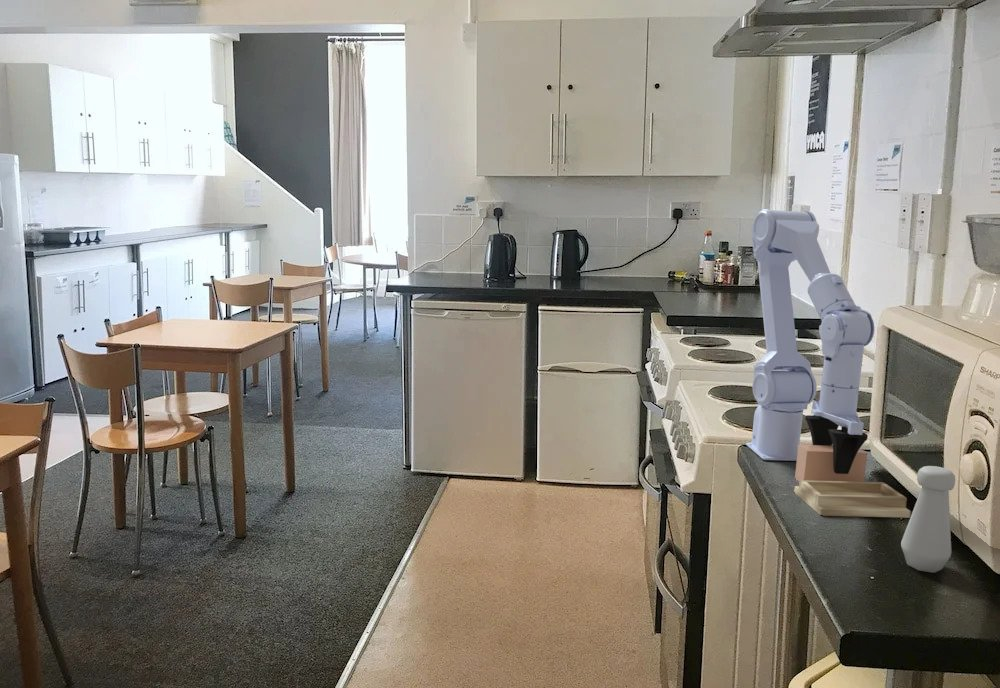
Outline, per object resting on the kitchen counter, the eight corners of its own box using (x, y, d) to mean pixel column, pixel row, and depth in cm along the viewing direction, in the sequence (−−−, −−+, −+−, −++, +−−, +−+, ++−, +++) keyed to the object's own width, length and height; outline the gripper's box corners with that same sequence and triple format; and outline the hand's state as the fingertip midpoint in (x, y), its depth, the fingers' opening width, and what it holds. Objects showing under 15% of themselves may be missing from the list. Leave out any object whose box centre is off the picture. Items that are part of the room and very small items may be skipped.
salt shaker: (897, 568, 112) (910, 470, 109) (900, 552, 117) (912, 458, 114) (948, 579, 109) (962, 479, 107) (949, 563, 114) (963, 467, 112)
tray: (794, 492, 139) (795, 477, 139) (877, 494, 140) (879, 479, 139) (820, 515, 129) (822, 499, 129) (909, 517, 130) (911, 501, 130)
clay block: (794, 479, 146) (798, 444, 145) (853, 481, 146) (857, 446, 145) (803, 486, 142) (807, 451, 141) (862, 488, 143) (867, 452, 142)
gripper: (798, 374, 148) (790, 452, 151) (835, 394, 134) (825, 479, 136) (838, 375, 149) (830, 453, 151) (880, 395, 135) (869, 480, 137)
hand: (830, 465), depth 144 cm, fingers open, 7 cm apart
